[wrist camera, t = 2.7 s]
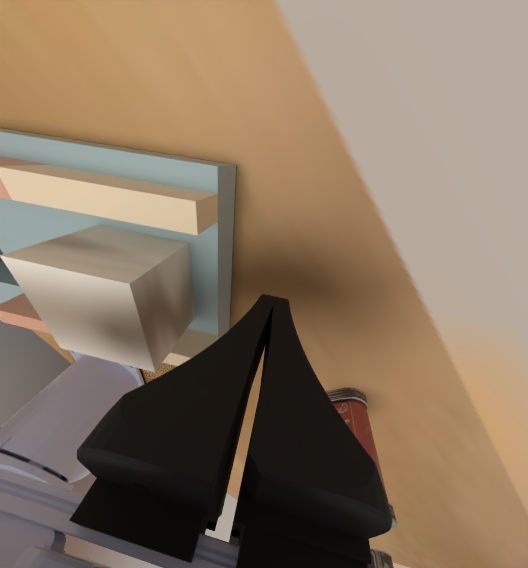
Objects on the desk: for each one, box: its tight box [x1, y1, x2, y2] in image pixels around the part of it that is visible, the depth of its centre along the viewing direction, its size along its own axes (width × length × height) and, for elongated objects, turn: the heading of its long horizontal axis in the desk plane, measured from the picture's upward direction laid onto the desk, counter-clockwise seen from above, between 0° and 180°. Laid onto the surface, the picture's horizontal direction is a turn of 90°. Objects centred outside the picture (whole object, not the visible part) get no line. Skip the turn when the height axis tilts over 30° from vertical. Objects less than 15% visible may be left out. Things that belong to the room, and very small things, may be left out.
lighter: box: [326, 388, 397, 568], centre depth 15 cm, size 8×3×10 cm, turn 137°
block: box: [0, 225, 195, 372], centre depth 10 cm, size 5×5×4 cm
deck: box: [0, 128, 236, 366], centre depth 12 cm, size 12×22×4 cm, turn 83°
